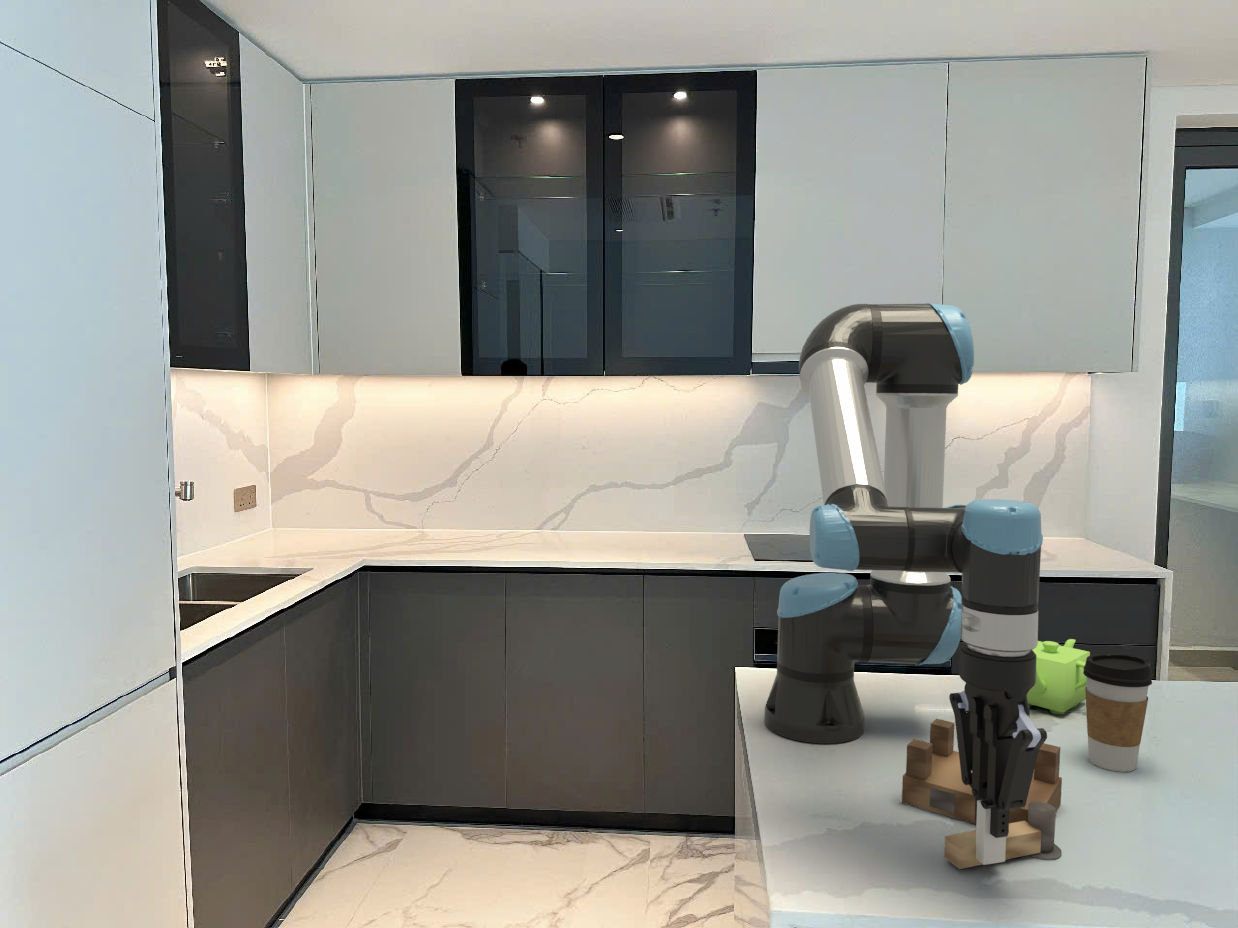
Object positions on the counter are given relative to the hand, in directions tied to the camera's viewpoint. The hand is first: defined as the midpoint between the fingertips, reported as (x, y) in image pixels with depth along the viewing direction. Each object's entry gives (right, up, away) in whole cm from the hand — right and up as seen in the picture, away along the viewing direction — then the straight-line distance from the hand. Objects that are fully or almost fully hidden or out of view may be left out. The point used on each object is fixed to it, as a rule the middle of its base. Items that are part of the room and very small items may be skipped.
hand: (990, 859), depth 96 cm
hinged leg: (+3, -1, +3) cm, 4 cm away
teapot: (+31, +2, +52) cm, 61 cm away
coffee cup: (+29, +1, +29) cm, 41 cm away
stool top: (+6, 0, +14) cm, 15 cm away
